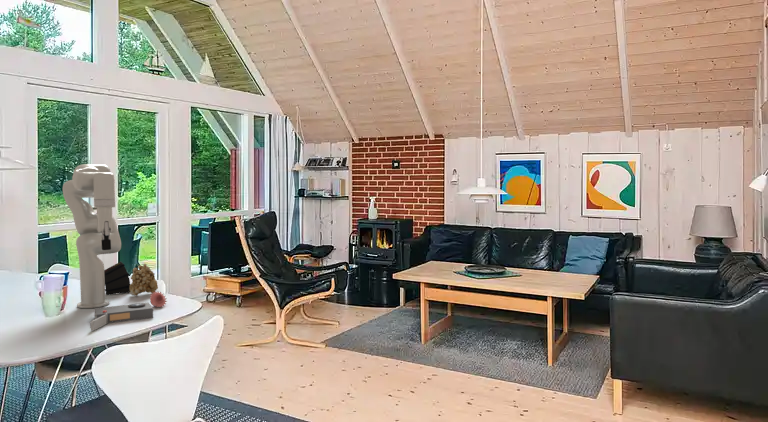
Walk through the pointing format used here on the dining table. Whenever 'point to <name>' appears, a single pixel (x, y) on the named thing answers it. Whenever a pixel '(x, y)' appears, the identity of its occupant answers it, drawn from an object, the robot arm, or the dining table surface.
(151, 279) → the mineral formation
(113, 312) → the camera body
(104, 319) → the port door
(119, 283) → the black ridged block
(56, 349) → the dining table surface
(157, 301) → the flower
